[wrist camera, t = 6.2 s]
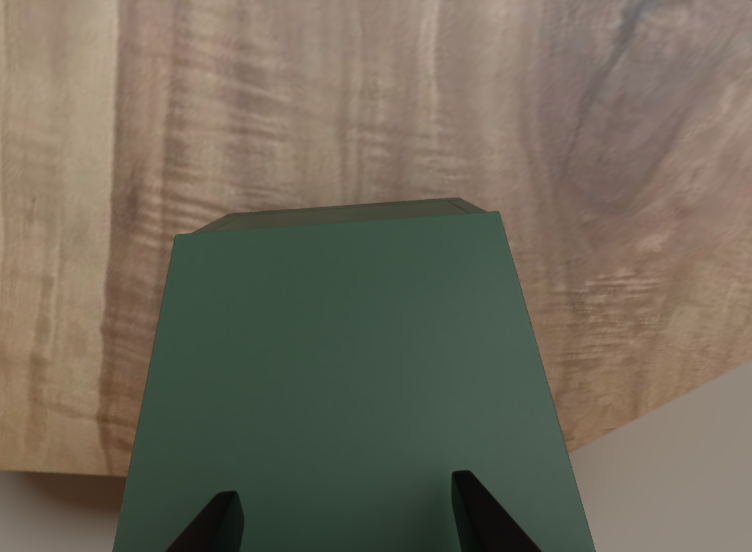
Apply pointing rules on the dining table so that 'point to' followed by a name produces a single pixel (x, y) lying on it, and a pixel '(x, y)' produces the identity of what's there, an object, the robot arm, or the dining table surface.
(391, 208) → the chest
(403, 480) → the lid
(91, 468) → the dining table surface
